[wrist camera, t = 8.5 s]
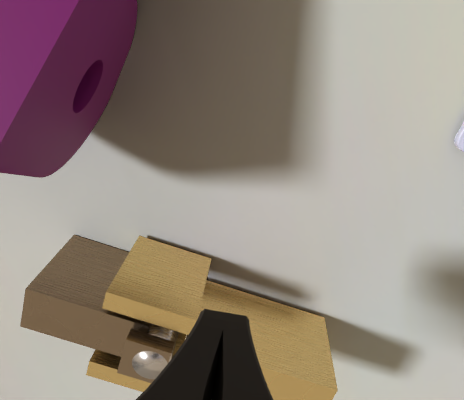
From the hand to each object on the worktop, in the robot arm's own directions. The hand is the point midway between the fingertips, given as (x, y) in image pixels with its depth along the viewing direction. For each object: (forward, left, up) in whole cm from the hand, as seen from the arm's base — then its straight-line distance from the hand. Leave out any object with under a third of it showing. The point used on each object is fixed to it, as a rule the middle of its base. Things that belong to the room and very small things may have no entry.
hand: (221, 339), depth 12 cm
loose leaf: (-1, +6, -10) cm, 11 cm away
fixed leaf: (+4, +6, -10) cm, 12 cm away
